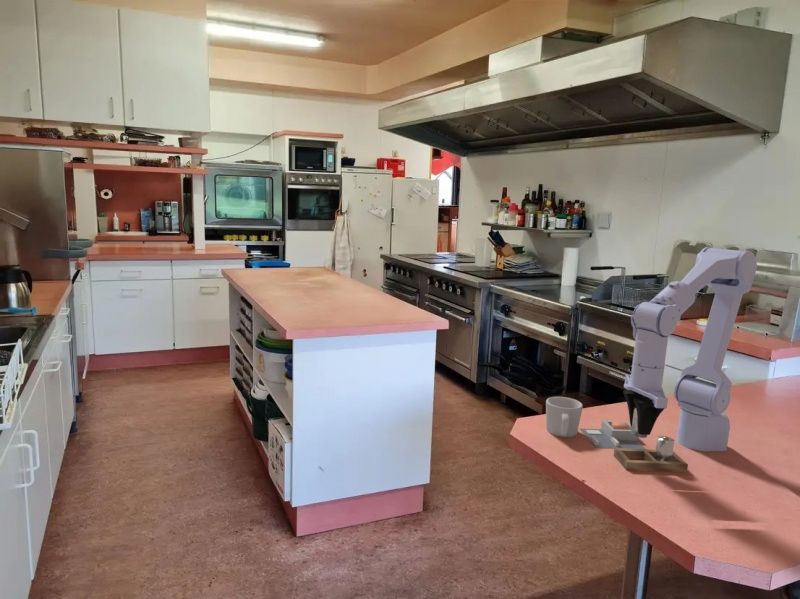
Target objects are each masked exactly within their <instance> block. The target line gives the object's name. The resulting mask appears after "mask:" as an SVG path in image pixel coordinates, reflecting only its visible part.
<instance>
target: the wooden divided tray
mask: <svg viewBox="0 0 800 599" xmlns="http://www.w3.org/2000/svg"><path fill="white" fill-rule="evenodd" d="M613 450H614V451H613V457H614V458H615V459H616V461H617V462H619V464H620V465H621V466H622V467H623V468H624V470H626V471H641V472H671V473H688V469H689V468H688V467H689V464H688V463H687V462H686V461H685V460H684V459H682V458H681V457H680V456H679V455H678V454H677V453H676V452H675V451H673V453H672V461H671V462H668V461H657V460H656V459H655V455H656V449H647V448H646V449H622V448H614V449H613ZM638 459H639V460H638Z"/></svg>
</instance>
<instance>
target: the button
mask: <svg viewBox="0 0 800 599" xmlns="http://www.w3.org/2000/svg"><path fill="white" fill-rule="evenodd" d="M612 421H613V422H612V427H613V428H614V429H621V430H628V429H629V425H628V424H627V423H625V422H621V421H622V420H612Z"/></svg>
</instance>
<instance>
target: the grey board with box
mask: <svg viewBox="0 0 800 599" xmlns="http://www.w3.org/2000/svg"><path fill="white" fill-rule="evenodd" d="M613 421H614V420H607V419H606V420H605V419H604V420H603V419H602V420H601V424H600V426H601V427H600V428H579V427H578V430H580V431H581V433H582V434H584V436H585V437H586V438H587V439H588V441H589V442H590V443H591V445H592V446H593V447H594V448H596V449H613V450H614V448H622V449H647V448H645V446H644V445H643V444H642V443H640V442H639V437H636V436H633V435H632V434H631V430H632V427H631V425H630V421H628V420H620V421H621V422H625V423H627V424H628V425H629V429H628V430H621V429H614V428H613V427H612V422H613Z"/></svg>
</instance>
